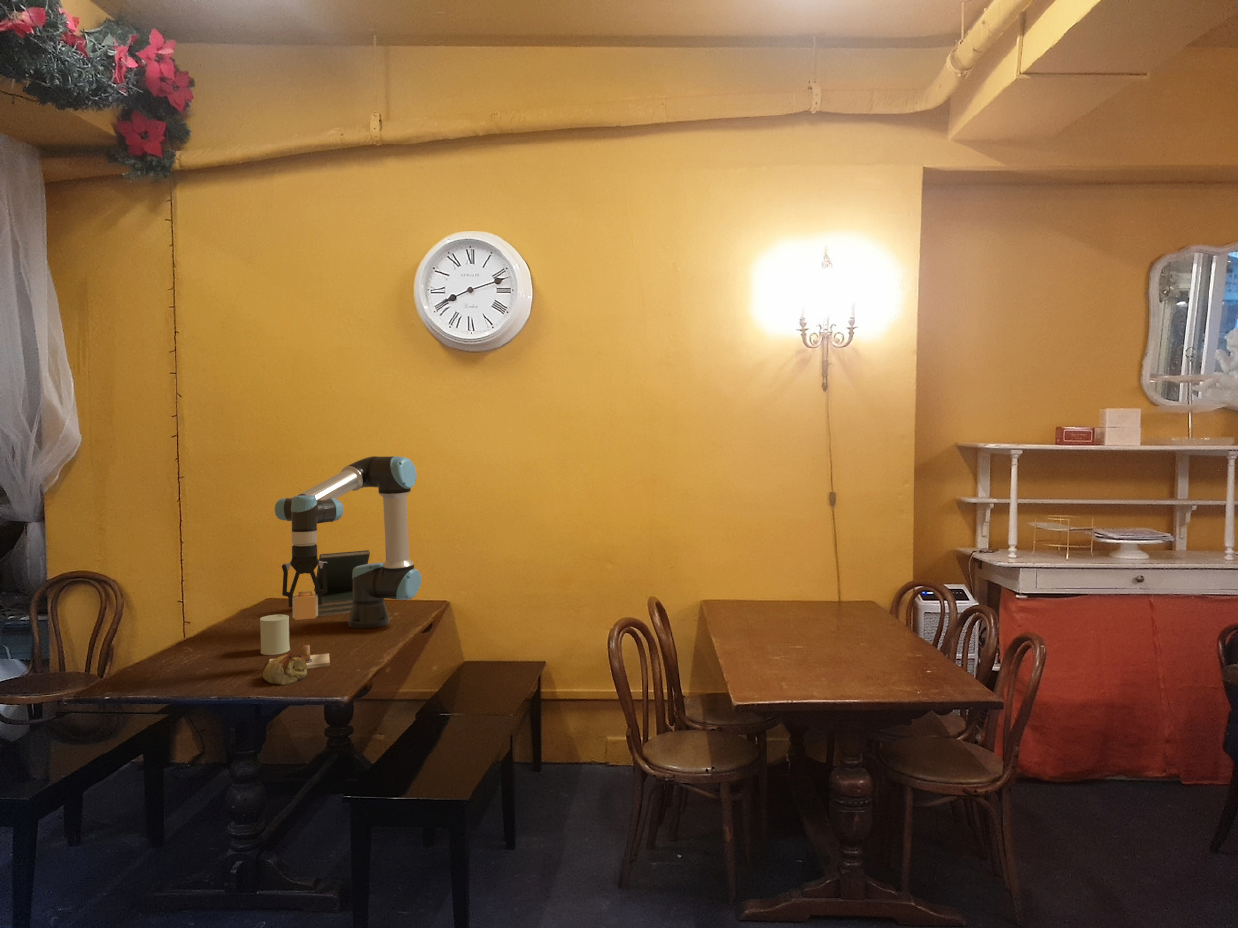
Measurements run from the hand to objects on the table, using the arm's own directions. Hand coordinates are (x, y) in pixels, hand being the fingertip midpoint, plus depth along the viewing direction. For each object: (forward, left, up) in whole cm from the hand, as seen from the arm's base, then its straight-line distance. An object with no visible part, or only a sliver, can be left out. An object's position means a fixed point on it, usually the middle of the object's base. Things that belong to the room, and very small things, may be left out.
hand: (305, 616), depth 255 cm
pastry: (+6, +12, -16) cm, 21 cm away
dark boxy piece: (-13, -78, -16) cm, 81 cm away
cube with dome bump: (0, 0, 0) cm, 0 cm away
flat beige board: (+2, -1, -16) cm, 16 cm away
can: (+10, -20, -16) cm, 28 cm away
